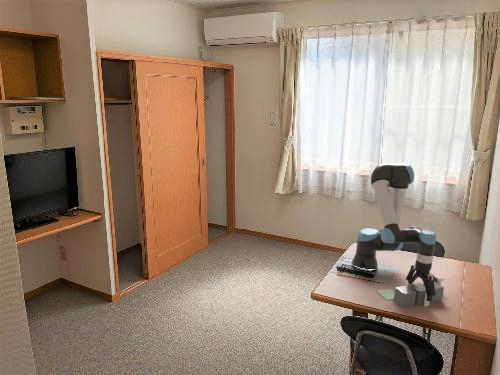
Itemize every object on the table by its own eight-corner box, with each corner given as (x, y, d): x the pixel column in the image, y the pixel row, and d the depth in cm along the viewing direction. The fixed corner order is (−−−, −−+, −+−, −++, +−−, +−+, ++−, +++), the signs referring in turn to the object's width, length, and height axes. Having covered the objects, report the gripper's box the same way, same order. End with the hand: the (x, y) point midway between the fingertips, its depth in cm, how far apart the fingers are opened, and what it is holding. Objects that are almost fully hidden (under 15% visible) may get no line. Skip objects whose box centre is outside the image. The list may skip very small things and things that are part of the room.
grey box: (407, 297, 201) (409, 285, 199) (418, 296, 204) (420, 283, 202) (417, 304, 195) (419, 291, 193) (428, 302, 197) (430, 289, 195)
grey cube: (421, 295, 204) (423, 282, 202) (431, 293, 206) (433, 281, 205) (431, 302, 198) (433, 289, 196) (441, 300, 200) (444, 287, 198)
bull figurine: (437, 293, 206) (439, 280, 204) (420, 282, 219) (422, 268, 217) (444, 293, 208) (446, 279, 206) (426, 281, 220) (428, 268, 218)
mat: (376, 291, 206) (376, 291, 206) (390, 289, 209) (390, 288, 209) (387, 300, 198) (387, 299, 198) (401, 297, 201) (401, 297, 201)
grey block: (393, 300, 198) (395, 287, 196) (404, 298, 201) (406, 285, 199) (402, 307, 192) (404, 294, 190) (414, 305, 194) (416, 292, 192)
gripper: (402, 252, 203) (396, 290, 209) (436, 272, 182) (429, 313, 187) (413, 251, 206) (407, 288, 211) (448, 270, 184) (441, 311, 190)
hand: (417, 300), depth 199 cm, fingers open, 11 cm apart
